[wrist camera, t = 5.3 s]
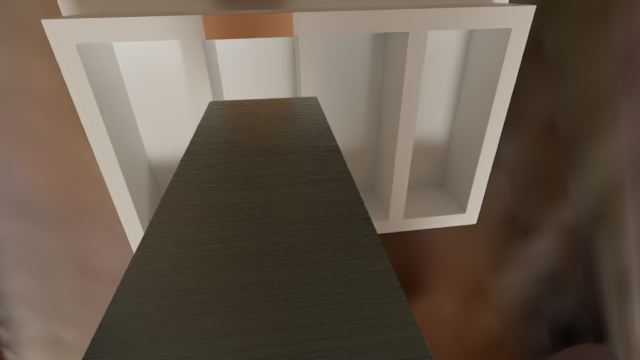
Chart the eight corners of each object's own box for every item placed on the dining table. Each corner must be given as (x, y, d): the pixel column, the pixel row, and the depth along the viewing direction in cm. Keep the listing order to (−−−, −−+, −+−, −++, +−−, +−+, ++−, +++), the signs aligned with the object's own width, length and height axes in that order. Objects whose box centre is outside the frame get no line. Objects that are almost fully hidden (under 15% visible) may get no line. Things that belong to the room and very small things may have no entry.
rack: (455, 186, 22) (492, 225, 19) (144, 214, 20) (117, 264, 17) (509, -60, 16) (584, -74, 12) (49, -57, 13) (-33, -73, 10)
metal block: (318, 320, 12) (372, 669, 6) (249, 329, 11) (230, 704, 5) (316, 96, 8) (489, 483, 2) (210, 101, 7) (-27, 576, 1)
